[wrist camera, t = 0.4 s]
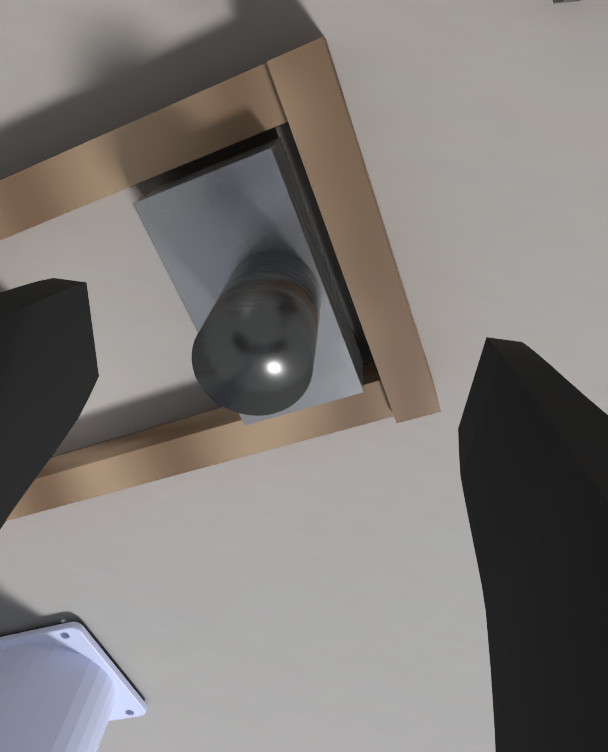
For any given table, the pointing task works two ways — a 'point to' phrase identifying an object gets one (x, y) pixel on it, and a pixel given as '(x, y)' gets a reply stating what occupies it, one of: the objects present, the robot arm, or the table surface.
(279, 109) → the wooden tray
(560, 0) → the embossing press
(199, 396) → the table surface
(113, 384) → the table surface
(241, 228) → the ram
